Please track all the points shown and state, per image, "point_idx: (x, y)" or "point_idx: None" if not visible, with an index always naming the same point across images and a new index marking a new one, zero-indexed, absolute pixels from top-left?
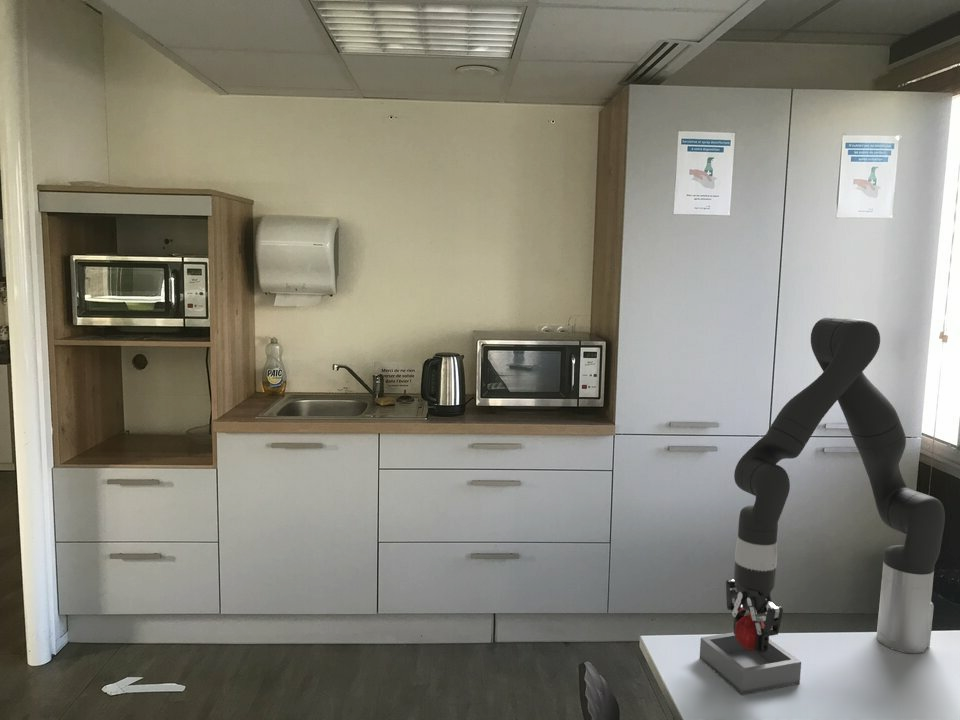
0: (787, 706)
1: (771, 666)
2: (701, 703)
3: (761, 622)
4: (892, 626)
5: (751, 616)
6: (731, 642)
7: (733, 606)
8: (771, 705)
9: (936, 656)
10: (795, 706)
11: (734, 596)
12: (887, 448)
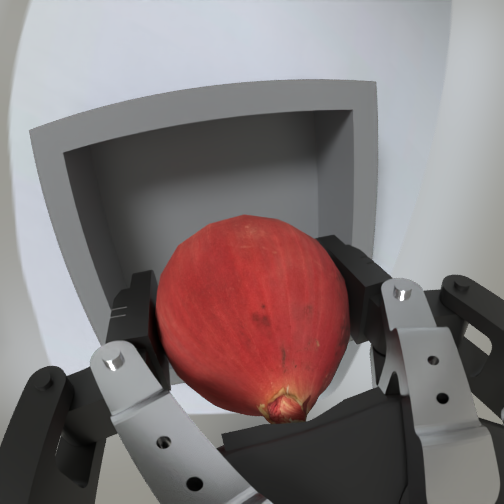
0: (400, 201)
1: (370, 233)
2: None
3: (324, 316)
4: None
5: (309, 409)
6: (106, 268)
7: (102, 438)
8: (384, 239)
9: None
10: (406, 179)
11: (72, 492)
12: None
